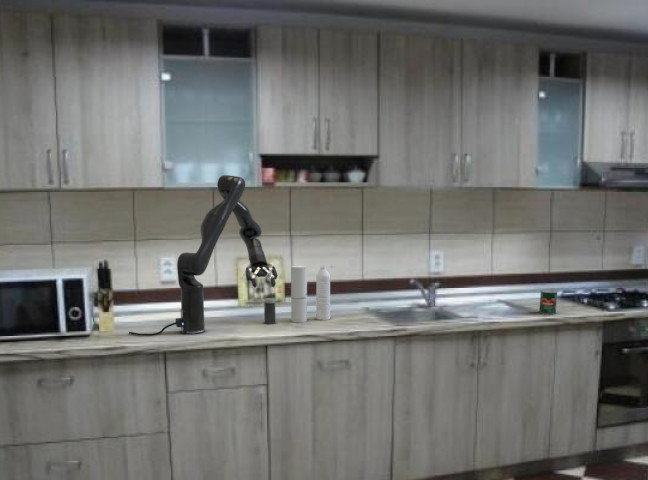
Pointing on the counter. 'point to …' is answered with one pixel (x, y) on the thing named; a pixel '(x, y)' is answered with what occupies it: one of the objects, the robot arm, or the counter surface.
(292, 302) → the cylindrical container
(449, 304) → the counter surface
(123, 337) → the counter surface
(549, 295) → the canned tomato
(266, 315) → the salt shaker
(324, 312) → the water bottle
